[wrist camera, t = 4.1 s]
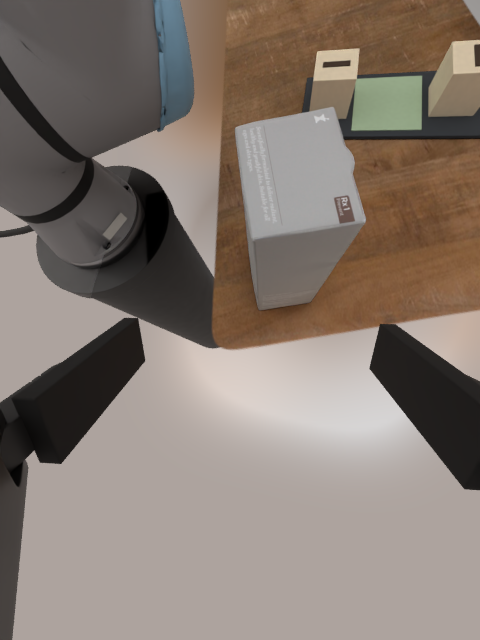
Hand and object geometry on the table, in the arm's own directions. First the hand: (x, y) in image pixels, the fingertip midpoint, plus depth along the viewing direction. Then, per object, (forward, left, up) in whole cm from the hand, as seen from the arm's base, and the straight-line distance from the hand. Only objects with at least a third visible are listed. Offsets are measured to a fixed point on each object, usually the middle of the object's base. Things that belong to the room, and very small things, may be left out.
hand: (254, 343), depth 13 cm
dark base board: (+11, +36, -14) cm, 41 cm away
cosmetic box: (+1, +10, -14) cm, 17 cm away
